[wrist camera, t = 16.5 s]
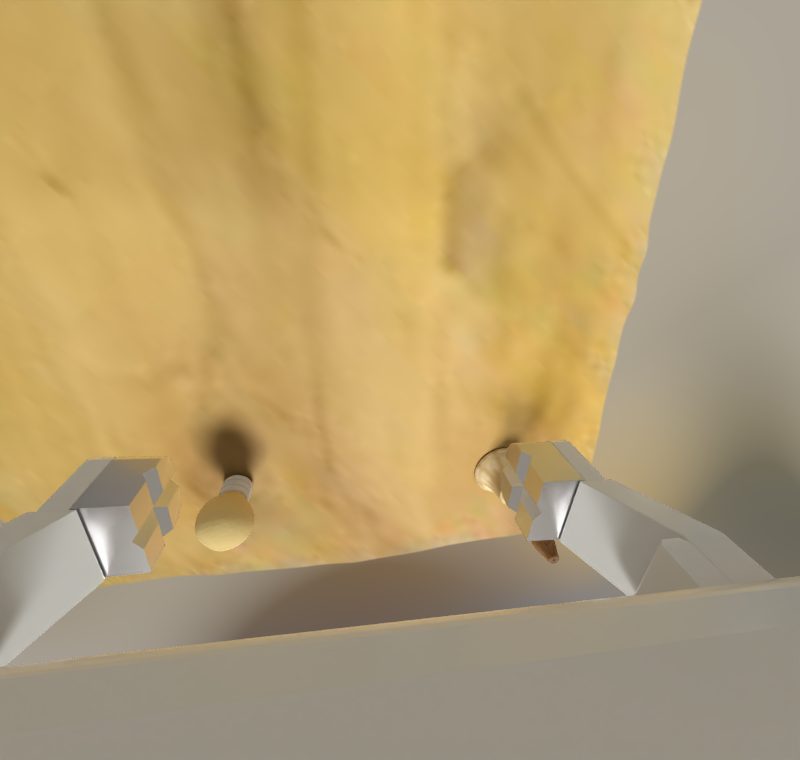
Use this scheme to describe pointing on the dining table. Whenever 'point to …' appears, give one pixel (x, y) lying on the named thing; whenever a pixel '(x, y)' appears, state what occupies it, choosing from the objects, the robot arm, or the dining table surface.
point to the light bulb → (227, 516)
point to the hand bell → (489, 480)
